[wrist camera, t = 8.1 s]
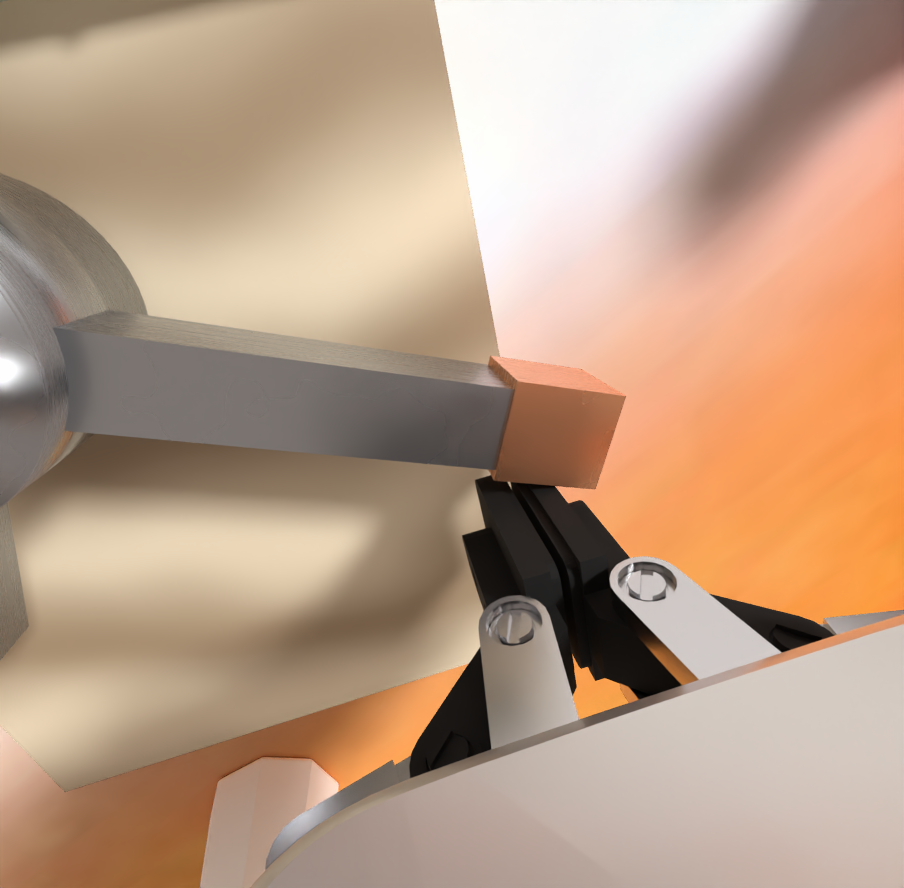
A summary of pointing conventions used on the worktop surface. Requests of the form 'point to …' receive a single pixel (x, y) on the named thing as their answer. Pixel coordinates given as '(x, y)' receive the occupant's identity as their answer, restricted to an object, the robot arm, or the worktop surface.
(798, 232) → the worktop surface
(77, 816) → the worktop surface
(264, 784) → the pepper shaker
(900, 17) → the worktop surface
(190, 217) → the wooden flat board
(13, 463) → the capstan
